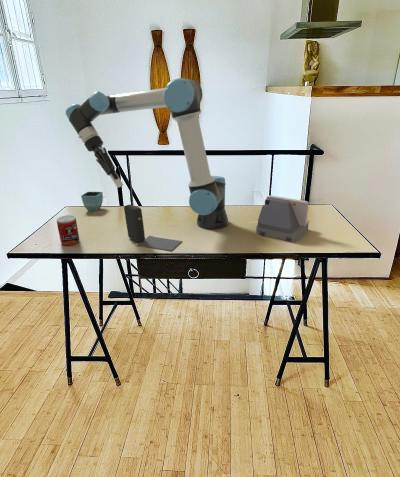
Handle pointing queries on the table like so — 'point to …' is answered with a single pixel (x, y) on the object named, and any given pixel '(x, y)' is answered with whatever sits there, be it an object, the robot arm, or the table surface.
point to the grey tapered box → (283, 218)
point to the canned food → (68, 230)
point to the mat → (159, 243)
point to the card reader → (134, 223)
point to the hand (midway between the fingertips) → (120, 186)
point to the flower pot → (92, 200)
